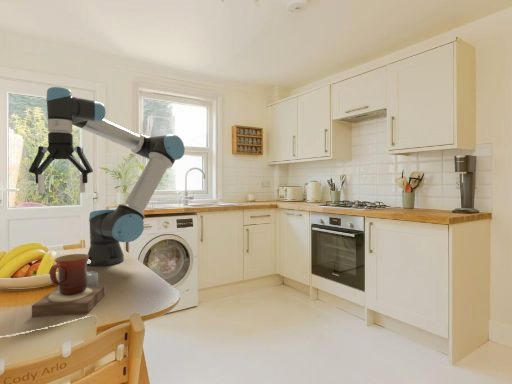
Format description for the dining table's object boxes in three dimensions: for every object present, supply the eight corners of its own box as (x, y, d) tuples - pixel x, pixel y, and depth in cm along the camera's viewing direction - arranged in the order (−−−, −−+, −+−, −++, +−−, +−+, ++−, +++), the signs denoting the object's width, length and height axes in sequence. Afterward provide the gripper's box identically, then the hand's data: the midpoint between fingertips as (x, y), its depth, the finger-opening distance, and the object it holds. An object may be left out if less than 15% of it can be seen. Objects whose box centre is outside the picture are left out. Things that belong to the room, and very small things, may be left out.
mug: (71, 286, 101) (70, 253, 101) (96, 287, 99) (95, 254, 99) (38, 300, 89) (37, 263, 89) (66, 302, 88) (65, 264, 87)
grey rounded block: (80, 283, 115) (80, 271, 115) (101, 282, 116) (101, 271, 116) (72, 289, 108) (71, 277, 108) (94, 288, 109) (94, 276, 109)
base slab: (56, 297, 101) (56, 286, 100) (104, 295, 102) (104, 284, 102) (32, 316, 87) (31, 304, 87) (87, 313, 89) (87, 301, 88)
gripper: (15, 130, 110) (18, 193, 111) (94, 131, 113) (95, 192, 114) (27, 133, 117) (30, 192, 118) (101, 134, 121) (102, 191, 122)
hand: (62, 192), depth 116 cm, fingers open, 13 cm apart
